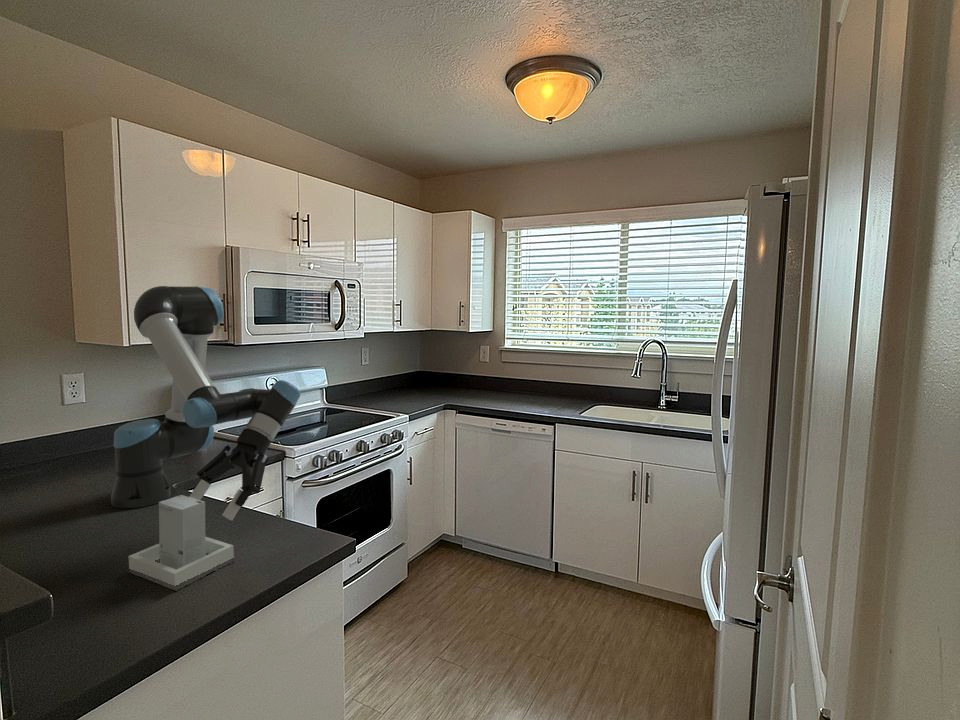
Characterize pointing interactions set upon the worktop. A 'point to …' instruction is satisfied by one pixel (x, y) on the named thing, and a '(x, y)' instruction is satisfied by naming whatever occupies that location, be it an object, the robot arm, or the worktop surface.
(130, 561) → the tray
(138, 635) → the worktop surface
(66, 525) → the worktop surface
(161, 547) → the skincare box
